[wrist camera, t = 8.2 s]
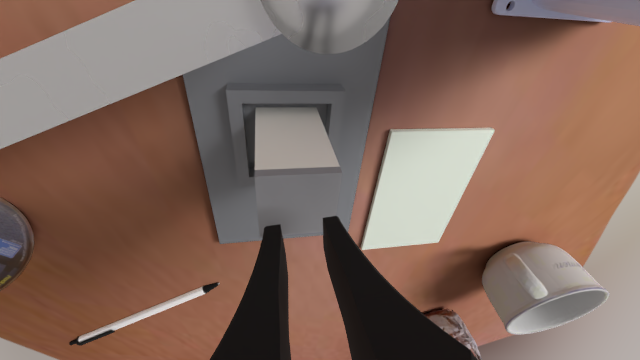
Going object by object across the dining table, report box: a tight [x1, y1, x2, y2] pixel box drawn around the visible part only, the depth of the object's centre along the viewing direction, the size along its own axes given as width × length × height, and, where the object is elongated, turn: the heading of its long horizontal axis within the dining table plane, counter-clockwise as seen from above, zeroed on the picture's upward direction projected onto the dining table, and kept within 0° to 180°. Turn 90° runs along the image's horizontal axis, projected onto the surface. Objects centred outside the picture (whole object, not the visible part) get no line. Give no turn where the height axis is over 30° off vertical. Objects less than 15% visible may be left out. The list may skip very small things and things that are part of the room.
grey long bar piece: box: [0, 0, 399, 149], centre depth 9 cm, size 3×20×8 cm, turn 108°
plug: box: [254, 107, 342, 237], centre depth 17 cm, size 4×4×8 cm
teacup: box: [482, 241, 609, 334], centre depth 33 cm, size 14×11×8 cm
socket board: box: [183, 17, 390, 244], centre depth 16 cm, size 12×22×11 cm, turn 176°
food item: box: [424, 309, 482, 360], centre depth 43 cm, size 14×8×10 cm, turn 23°
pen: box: [70, 283, 220, 345], centre depth 30 cm, size 1×19×1 cm, turn 112°
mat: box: [361, 128, 495, 250], centre depth 26 cm, size 9×14×1 cm, turn 176°
